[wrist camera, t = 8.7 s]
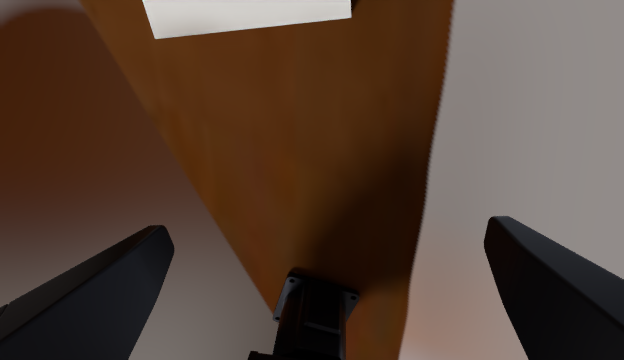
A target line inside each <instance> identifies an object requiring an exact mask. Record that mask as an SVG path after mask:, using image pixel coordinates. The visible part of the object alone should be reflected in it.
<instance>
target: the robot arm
mask: <svg viewBox="0 0 624 360" xmlns="http://www.w3.org/2000/svg"><path fill="white" fill-rule="evenodd" d="M484 249H485V253H486V256H487V259H488V261H489V264H490V267H491V271H492V274H493V277H494V280H495V283H496V286H497V288H498V292H499V294H500V297H501V300H502V303H503V305H504V308H505V310H506V312H507V314H508V316H509V319H510V321H511V323H512V325H513V327H514V329H515V331H516V333H517V335H518V338H519V340H520V342H521V344H522V346H523V349H524V351H525V353H526V355H527V357H528V359H529V360H624V279H622V278H620V277H618V276H616V275H615V274H612V273H611V272H609V271H607V270H605V269H604V268H602V267H600V266H598V265H596V264H594V263H593V262H591V261H589V260H587V259H585V258H584V257H582V256H580V255H578V254H576V253H575V252H573V251H571V250H569V249H567V248H565V247H564V246H562V245H560V244H558V243H556V242H555V241H553V240H551V239H549V238H547V237H546V236H544V235H542V234H540V233H538V232H536V231H535V230H532V229H531V228H529V227H527V226H525V225H524V224H522V223H520V222H518V221H516V220H514V219H513V218H511V217H509V216H494V217H491V218H490V219H489V221H488V225H487V230H486V234H485V239H484ZM173 255H174V245H173V243H172V240H171V238H170V236H169V233H168V231H167V229H166V227H165V226H163V225H150V226H148V227H146V228H144V229H142V230H140V231H138V232H136V233H135V234H133V235H131V236H129V237H127V238H126V239H124V240H122V241H120V242H118V243H117V244H115V245H113V246H111V247H110V248H107V249H106V250H104V251H102V252H100V253H98V254H97V255H95V256H93V257H91V258H89V259H87V260H86V261H84V262H82V263H80V264H78V265H77V266H75V267H73V268H71V269H70V270H68V271H66V272H64V273H62V274H60V275H58V276H57V277H55V278H53V279H51V280H49V281H48V282H46V283H44V284H42V285H40V286H39V287H37V288H35V289H33V290H31V291H29V292H28V293H26V294H24V295H22V296H20V297H19V298H17V299H15V300H13V301H11V302H10V303H9V304H6V305H4V306H2V307H0V360H128V358H129V356H130V354H131V352H132V350H133V348H134V346H135V344H136V342H137V340H138V338H139V336H140V334H141V331H142V330H143V328H144V326H145V323H146V322H147V319H148V317H149V315H150V313H151V311H152V309H153V307H154V305H155V303H156V300H157V298H158V295H159V293H160V290H161V287H162V285H163V282H164V279H165V277H166V274H167V271H168V268H169V266H170V263H171V260H172V258H173ZM358 300H359V292H358V291H355V290H352V289H348V288H345V287H341V286H338V285H334V284H330V283H327V282H323V281H320V280H316V279H312V278H309V277H305V276H302V275H298V274H294V273H290V274H288V275H287V278H286V280H285V283H284V286H283V289H282V292H281V294H280V297H279V300H278V303H277V305H276V308H275V311H274V314H273V320H274V321H276V322H279V324H278V329H277V334H276V339H275V344H274V348H273V353H272V355H270V354H262V353H258V352H257V351H251V352H250V354H249V357H248V360H346V321H347V319H348V318H349V316H350V314H351V313H352V311H353V309H354V307H355V306H356V304H357V302H358Z"/></svg>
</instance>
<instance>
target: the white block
mask: <svg viewBox="0 0 624 360" xmlns="http://www.w3.org/2000/svg"><path fill="white" fill-rule="evenodd" d="M143 3H144V6H145V9H146V12H147V15H148V19H149V22H150V25H151V28H152V31H153V34H154V37H155V39H159V38H168V37H177V36H187V35H196V34H205V33H214V32H224V31H233V30H242V29H251V28H260V27H270V26H279V25H288V24H297V23H306V22H316V21H325V20H334V19H343V18H351V0H143Z"/></svg>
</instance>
